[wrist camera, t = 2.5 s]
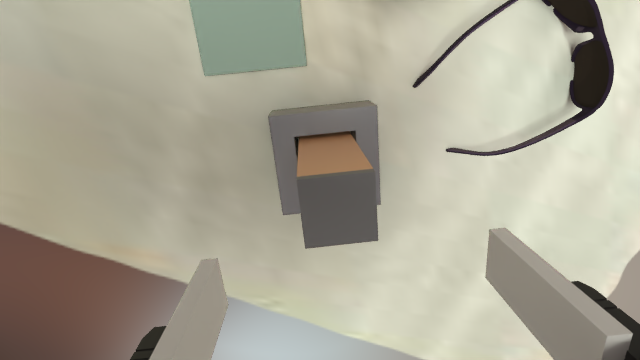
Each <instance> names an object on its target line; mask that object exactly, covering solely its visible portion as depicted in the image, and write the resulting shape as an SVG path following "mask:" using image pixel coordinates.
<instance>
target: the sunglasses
mask: <svg viewBox="0 0 640 360" xmlns="http://www.w3.org/2000/svg"><path fill="white" fill-rule="evenodd" d="M516 1H518V0H509V1H507V2H506V3H504V4H503V5H501V6H500V7H498V8H497V9H495V10H494V11H492V12H491V13H490V14H488V15H487V16H485V17H484V18H483V19H481V20H480V21H479V22H477V23H476V24H475V25H474V26H472V27H471V28H470V29H469V30H467V31H466V32H465V33H464V34H463V35H462V36H461V37H459V38H458V39H457V40H456V41H455V42H454V43H453V44H452V45H451V46H450V47H449V48H448V49H447V50H446V52H445V53H444V54H443V55H442V56H441V57H440V58H439V59H438V60H437V61H436V62H435V63H434V64H433V65H432V66H431V67H430V68H429V69H428V70H427V71H426V72H425V73H424V74H423V75H422V76H420V77H419V78H418V79H417V81H416V82H415V84H414V85H413V87H414V88H416V87H417V86H418V85H420V84H421V83H422V82H423V81H424V80H425V79H426V78H427V77H428V76H429V75H430V74H431V73H432V72H433V71H434V70H435V69H436V68H437V67H438V65H439V64H440V63H441V62H442V61H443V60H444V59H445V58H446V57H447V56H448V55H449V54H450V53H451V52H452V51H453V50H454V49H455V48H456V47H457V46H458V45H459V44H460V43H461V42H462V41H463V40H464V39H465V38H466V37H467V36H469V35H470V34H471V33H472V32H473V31H475V30H476V29H477V28H479V27H480V26H481V25H483V24H484V23H485V22H487V21H488V20H490V19H491V18H493V17H494V16H495V15H497V14H498V13H500V12H501V11H503V10H504V9H505V8H507V7H508V6H510V5H511V4H513V3H515V2H516ZM542 1H543V2H544V3H545V4H546V5H547V6H551V5H552V6H553V7H554V9H553V10H554V11H553V12H554V14H555V15H556V16H557V17H558V18H559V19H560V20H561V21H562V22H563V23H565V24H566V25H567V26H568V27H569V28H570V29H571V30H573V31H574V32H577V33H584V32H591V33H592V34H593V36H594V37H593V39H591V40H588V41H585V42H582V43H580V44H578V45H577V46H576V48H575V50H574V52H573V55H572V59H571V61H572V62H574V64H575V66H574V78H573V80H571V81H570V95H571V99H572V102H573V103H574V104H575V105H576V106H577V107H579V108H582V111H581V112H579V113H578V114H576V115H575V116H574V117H572V118H570V119H568V120H566V121H565V122H563V123H561V124H559V125H558V126H556V127H554V128H552V129H550V130H548V131H546V132H544V133H542V134H540V135H538V136H536V137H534V138H532V139H530V140H527V141H525V142H523V143H520V144H518V145H516V146H513V147H509V148H506V149H502V150H498V151H492V152H476V151H469V150H463V149H457V148H449V149H446V151H447V152H454V153H463V154H470V155H480V156H492V155H500V154H505V153H509V152H512V151H516V150H519V149H522V148H524V147H527V146H529V145H532V144H534V143H537V142H539V141H541V140H544V139H546V138H548V137H550V136H552V135H554V134H556V133H558V132H560V131H562V130H564V129H566V128H568V127H570V126H572V125H574V124H576V123H578V122H580V121H582V120H583V119H585V118H587V117H588V116H590V115H591V114H593V113H594V112H595V111H596V110H597V109H598V108H600V107H601V106H602V104H603V103H604V102H605V100H606V98H607V96H608V94H609V92H610V90H611V87H612V83H613V76H614V65H613V59H612V55H611V51H610V48H609V44H608V41H607V38H606V35H605V32H604V28H603V23H602V19H601V15H600V12H599V9H598V6H597V4H596V2H595V0H542Z"/></svg>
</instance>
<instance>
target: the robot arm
mask: <svg viewBox="0 0 640 360" xmlns="http://www.w3.org/2000/svg"><path fill="white" fill-rule="evenodd" d="M485 278H486V279H487V280H488V281H489V282H490V284H491V285H492V286H493V287H494V288H495V290H496V291H497V292H498V293H499V294H500V296H501V297H502V298H503V299H504V300H505V302H506V303H507V304H508V305H509V306H510V307H511V309H512V310H513V311H514V312H515V313H516V315H517V316H518V317H519V318H520V319H521V321H522V322H523V323H524V324H525V325H526V327H527V328H528V329H529V330H530V331H531V333H532V334H533V335H534V336H535V337H536V339H537V340H538V341H539V342H540V343H541V345H542V346H543V347H544V348H545V349H546V351H547V352H548V353H549V354H550V355H551V357H552V358H553V359H554V360H640V324H639V323H637V322H636V321H635V320H633V319H632V318H631V317H630V316H628V315H627V314H626V313H624V312H623V311H622V310H621V309H618V308H617V306H616V305H614V304H613V303H612V302H610V301H609V300H608V301H607V298H605V297H604V296H603V295H602V294H600V293H599V292H598V291H596V290H595V289H594V288H592V287H590V286H588V285H586V284H583V283H581V282H579V281H574V282H570V281H569V280H568V279H567V278H565V277H564V276H563V275H562V274H561V273H559V272H558V271H557V270H556V269H555V268H553V267H552V266H551V265H550V264H548V263H547V262H546V261H545V260H544V259H542V258H541V257H540V256H539V255H538V254H536V253H535V252H534V251H533V250H532V249H530V248H529V247H528V246H527V245H526V244H524V243H523V242H522V241H521V240H519V239H518V238H517V237H516V236H515V235H513V234H512V233H511V232H510V231H509V230H507V229H506V228H498V229H489V241H488V253H487V265H486V277H485ZM227 308H228V301H227V297H226V293H225V289H224V284H223V280H222V276H221V271H220V267H219V263H218V258H216V259H206V260H201V262H200V264H199V266H198V268H197V270H196V271H195V273H194V275H193V277H192V279H191V281H190V283H189V285H188V287H187V289H186V290H185V292H184V294H183V296H182V298H181V300H180V302H179V304H178V306H177V308H176V309H175V311H174V313H173V315H172V317H171V319H170V321H169V323H168V325H167V326H162V327H154V328H153V329H152V330H151V331H150V332H149V333H148V334H147V335H146V336H145V337H144V338H143V339H142V340H141V342H140V344H139V345H138V347H137V349H136V352H134V354H133V356H132V357H131V359H130V360H211V358H212V355H213V352H214V348H215V345H216V342H217V339H218V336H219V333H220V330H221V327H222V323H223V320H224V317H225V314H226V311H227Z"/></svg>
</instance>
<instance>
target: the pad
mask: <svg viewBox="0 0 640 360" xmlns="http://www.w3.org/2000/svg"><path fill="white" fill-rule="evenodd" d="M189 2H190V7H191V12H192V17H193V22H194V26H195V31H196V36H197V41H198V46H199V51H200V56H201V61H202V65H203V70H204V75H205V76H211V75H220V74H230V73H240V72H250V71H259V70H269V69H279V68H289V67H298V66H307V64H306V54H305V45H304V35H303V25H302V16H301V6H300V0H189Z"/></svg>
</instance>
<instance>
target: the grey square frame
mask: <svg viewBox="0 0 640 360" xmlns="http://www.w3.org/2000/svg"><path fill="white" fill-rule="evenodd" d="M268 118H269V125H270V131H271V138H272V145H273V151H274V158H275V165H276V172H277V178H278V185H279V192H280V199H281V205H282V212H283V215H290V214H299V213H301V211H300V203H299V195H298V188H297V163H298V149H297V141H296V137H297V136H307V135H316V134H326V133H335V132H345V131H351V135H352V136H353V138H354V139H355V141H356V143H357V144H358V146H359V147H360V149H361V150H362V152H363V153H364V155H365V156H366V158H367V160H368V161H369V163H370V164H371V166H372V167H373V169H374V170H375V178H376V202H377V205H381V200H380V173H379V147H378V120H377V105H375V104H374V103H372V102H371V101H359V102H350V103H340V104H330V105H321V106H311V107H302V108H292V109H283V110H273V111H272V112H271V113H270V115H269V116H268Z"/></svg>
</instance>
